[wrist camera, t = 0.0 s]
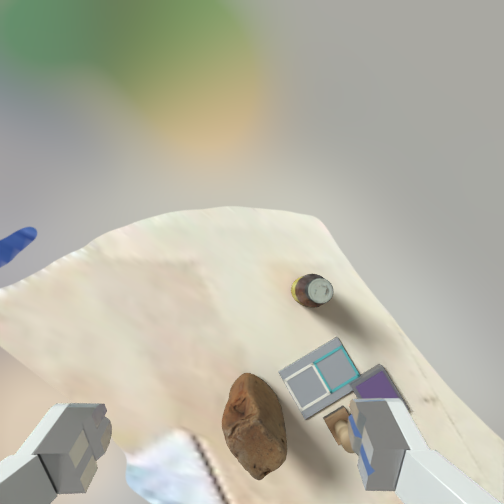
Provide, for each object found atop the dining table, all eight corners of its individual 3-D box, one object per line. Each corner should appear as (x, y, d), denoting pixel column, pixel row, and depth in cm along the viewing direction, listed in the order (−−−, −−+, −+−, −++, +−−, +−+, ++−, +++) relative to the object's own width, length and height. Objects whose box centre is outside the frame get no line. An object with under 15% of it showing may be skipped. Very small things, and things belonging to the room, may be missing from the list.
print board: (363, 381, 61) (365, 383, 60) (304, 417, 60) (305, 419, 59) (336, 336, 62) (337, 337, 61) (278, 371, 61) (278, 372, 60)
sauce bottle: (323, 289, 63) (352, 291, 43) (305, 310, 63) (326, 322, 43) (301, 270, 64) (320, 263, 44) (283, 290, 63) (294, 293, 44)
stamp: (355, 426, 60) (370, 448, 52) (335, 439, 60) (347, 463, 52) (342, 405, 60) (355, 424, 52) (323, 417, 60) (332, 437, 52)
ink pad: (404, 405, 60) (410, 410, 58) (373, 425, 60) (377, 430, 57) (379, 363, 61) (383, 366, 59) (348, 382, 61) (351, 386, 58)
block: (283, 402, 61) (295, 460, 41) (257, 426, 60) (257, 496, 40) (251, 363, 62) (247, 400, 42) (225, 385, 61) (209, 434, 41)
